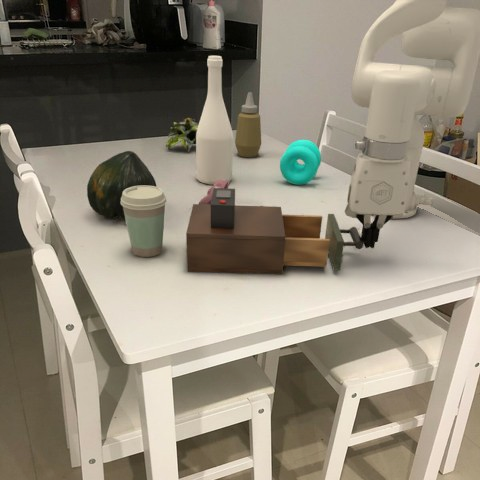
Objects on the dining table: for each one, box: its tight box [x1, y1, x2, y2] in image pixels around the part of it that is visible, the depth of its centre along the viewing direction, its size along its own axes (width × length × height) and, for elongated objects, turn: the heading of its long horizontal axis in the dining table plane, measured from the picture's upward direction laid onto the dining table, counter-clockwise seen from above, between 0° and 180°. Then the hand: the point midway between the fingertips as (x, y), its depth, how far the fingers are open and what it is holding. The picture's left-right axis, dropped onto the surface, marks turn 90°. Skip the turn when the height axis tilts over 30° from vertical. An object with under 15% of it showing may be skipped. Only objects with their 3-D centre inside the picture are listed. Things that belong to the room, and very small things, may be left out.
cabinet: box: [185, 203, 285, 275], centre depth 102 cm, size 18×15×8 cm
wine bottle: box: [195, 55, 234, 186], centre depth 135 cm, size 10×10×30 cm
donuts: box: [279, 139, 322, 186], centre depth 142 cm, size 10×10×10 cm
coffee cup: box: [120, 185, 168, 258], centre depth 102 cm, size 8×8×12 cm
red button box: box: [211, 187, 236, 228], centre depth 99 cm, size 4×9×5 cm, turn 179°
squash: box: [86, 150, 158, 219], centre depth 118 cm, size 14×15×15 cm
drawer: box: [282, 213, 365, 271], centre depth 102 cm, size 21×13×6 cm, turn 89°
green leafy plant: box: [165, 117, 199, 154], centre depth 165 cm, size 11×11×12 cm
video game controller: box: [198, 179, 231, 205], centre depth 127 cm, size 10×5×7 cm, turn 168°
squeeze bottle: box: [234, 91, 262, 158], centre depth 159 cm, size 8×8×18 cm
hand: (368, 245), depth 103 cm, fingers closed
